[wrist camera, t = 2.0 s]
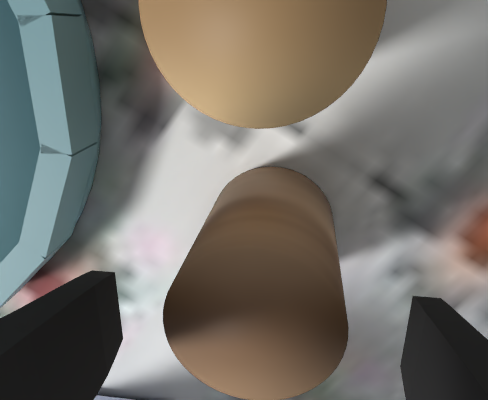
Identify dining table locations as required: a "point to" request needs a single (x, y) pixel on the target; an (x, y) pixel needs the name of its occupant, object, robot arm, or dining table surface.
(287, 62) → the oak bead
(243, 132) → the dining table surface
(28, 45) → the ring tray
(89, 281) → the robot arm
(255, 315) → the brown wooden peg
